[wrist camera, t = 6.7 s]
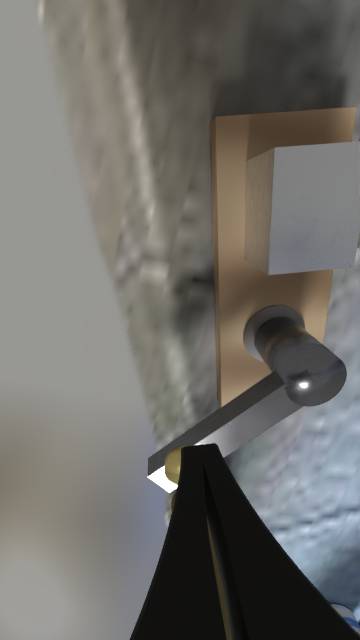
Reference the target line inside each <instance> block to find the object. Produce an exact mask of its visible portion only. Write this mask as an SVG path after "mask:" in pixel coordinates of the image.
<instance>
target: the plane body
mask: <svg viewBox="0 0 360 640" xmlns="http://www.w3.org/2000/svg"><path fill="white" fill-rule="evenodd" d="M356 108H357V107H346V108H331V109H317V110H303V111H288V112H274V113H259V114H245V115H231V116H216V117H215V118H214V120H213V121H212V123H211V124H210V149H211V185H212V221H213V258H214V294H215V330H216V366H217V398H218V401H219V405H220V408H221V407H223V406H224V405H226V404H227V403H229V402H230V401H231V400H233V399H234V398H236V397H237V396H239V395H240V394H241V393H243V392H244V391H246V390H247V389H249V388H250V387H252V386H253V385H254V384H256V383H257V382H259V381H260V380H262V379H263V378H265V377H266V376H267V375H269V374H270V373H272V372H271V371H270V369H269V368H268V367H267V365H266V364H265V362H264V361H263V359H262V358H261V356H260V355H259V353H258V352H257V350H256V348H255V345H254V337H255V334H256V332H257V330H258V328H259V327H260V326H261V325H262V324H263V323H264V322H266V321H267V320H269V319H271V318H274V317H279V316H284V317H289V318H291V319H293V320H294V321H295V322H297V323H298V324H299V325H300V326H301V327H303V328H304V329H305V330H306V331H307V332H308V333H310V334H311V335H312V336H313V337H314V338H316V339H317V340H318V341H319V342H320V343H321V344H323V339H324V332H325V325H326V318H327V311H328V304H329V297H330V290H331V283H332V276H333V269H329V270H318V271H307V272H297V273H286V274H275V275H267V274H266V273H264V272H263V271H261V270H260V269H258V268H256V267H255V266H253V265H252V264H250V263H249V262H247V261H245V260H244V241H245V177H246V161H248V160H250V159H252V158H254V157H256V156H258V155H260V154H263V153H265V152H267V151H269V150H271V149H273V148H276V147H289V146H302V145H316V144H329V143H342V142H352V136H353V129H354V122H355V115H356Z"/></svg>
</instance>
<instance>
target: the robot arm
mask: <svg viewBox="0 0 360 640" xmlns="http://www.w3.org/2000/svg"><path fill="white" fill-rule="evenodd" d="M207 519H208V523H209V528H210V532H211V537H212V541H213V545H214V550H215V554H216V558H217V563H218V567H219V571H220V576H221V580H222V584H223V589H224V595H225V600H226V605H227V611H228V618H229V624H230V630H231V636H232V640H360V635H359V634H358V633H357V632H356V631H355V630H354V629H353V628H352V627H351V626H350V625H349V624H348V623H347V622H346V620H345V619H344V618H343V617H342V616H341V615H340V614H339V613H338V612H337V611H336V610H335V609H334V608H333V607H332V605H331V604H330V603H329V602H328V601H327V600H326V599H325V598H324V596H323V595H322V594H321V593H320V592H319V591H318V590H317V589H316V587H315V586H314V585H313V584H312V583H311V582H310V581H309V580H308V578H307V577H306V576H305V575H304V574H303V573H302V572H301V570H300V569H299V568H298V567H297V565H296V564H295V563H294V562H293V561H292V559H291V558H290V557H289V556H288V555H287V553H286V552H285V551H284V549H283V548H282V547H281V546H280V544H279V543H278V542H277V540H276V539H275V538H274V537H273V535H272V534H271V533H270V531H269V530H268V528H267V527H266V526H265V524H264V523H263V521H262V520H261V519H260V517H259V516H258V514H257V513H256V511H255V510H254V509H253V507H252V506H251V504H250V503H249V501H248V499H247V498H246V496H245V495H244V493H243V491H242V490H241V488H240V487H239V485H238V483H237V482H236V480H235V478H234V477H233V475H232V473H231V471H230V469H229V468H228V466H227V464H226V462H225V460H224V458H223V456H222V454H221V452H220V449H219V447H218V445H217V444H216V443H211V444H202V445H194V446H185V447H183V448H182V449H181V465H180V474H179V481H178V487H177V492H176V497H175V502H174V507H173V511H172V515H171V519H170V523H169V527H168V531H167V535H166V538H165V542H164V545H163V549H162V552H161V556H160V559H159V562H158V565H157V568H156V571H155V574H154V577H153V579H152V583H151V585H150V588H149V591H148V594H147V597H146V599H145V602H144V605H143V608H142V610H141V613H140V615H139V618H138V620H137V623H136V625H135V628H134V630H133V633H132V635H131V638H130V640H227V638H226V633H225V627H224V621H223V616H222V610H221V604H220V599H219V593H218V587H217V581H216V575H215V570H214V564H213V558H212V552H211V546H210V540H209V532H208V524H207Z"/></svg>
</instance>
